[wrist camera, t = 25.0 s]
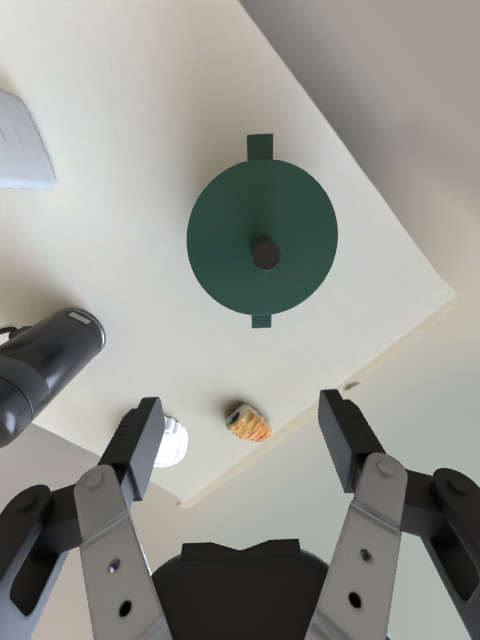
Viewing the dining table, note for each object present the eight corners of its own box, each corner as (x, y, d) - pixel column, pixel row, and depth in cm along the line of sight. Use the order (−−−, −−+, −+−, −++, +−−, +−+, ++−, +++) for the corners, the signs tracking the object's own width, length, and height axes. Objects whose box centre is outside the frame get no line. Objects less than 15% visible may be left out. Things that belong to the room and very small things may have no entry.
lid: (197, 314, 31) (186, 341, 25) (179, 164, 25) (158, 152, 18) (326, 309, 31) (347, 335, 25) (342, 156, 24) (377, 141, 18)
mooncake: (120, 423, 53) (112, 437, 50) (172, 407, 51) (167, 421, 48) (149, 460, 58) (143, 475, 54) (197, 446, 56) (195, 462, 53)
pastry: (278, 422, 53) (280, 438, 49) (256, 440, 55) (257, 456, 52) (243, 400, 50) (243, 414, 47) (222, 419, 53) (221, 434, 49)
